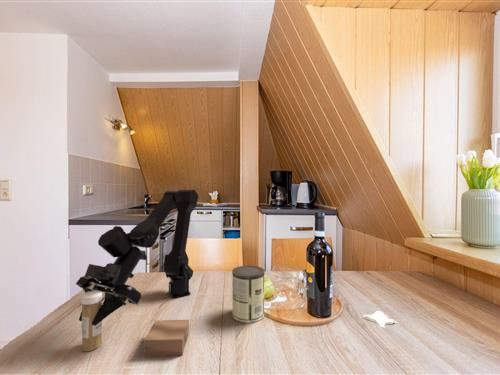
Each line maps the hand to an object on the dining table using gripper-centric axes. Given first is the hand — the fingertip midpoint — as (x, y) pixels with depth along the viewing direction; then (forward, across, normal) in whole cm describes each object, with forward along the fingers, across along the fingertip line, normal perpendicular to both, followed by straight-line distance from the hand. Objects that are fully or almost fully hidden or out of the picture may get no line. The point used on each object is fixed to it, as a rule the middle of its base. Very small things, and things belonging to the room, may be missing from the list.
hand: (86, 323), depth 64 cm
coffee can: (-18, +30, +28) cm, 44 cm away
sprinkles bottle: (+4, 0, +6) cm, 7 cm away
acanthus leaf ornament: (-27, +68, +37) cm, 82 cm away
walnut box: (-2, +17, +12) cm, 21 cm away
